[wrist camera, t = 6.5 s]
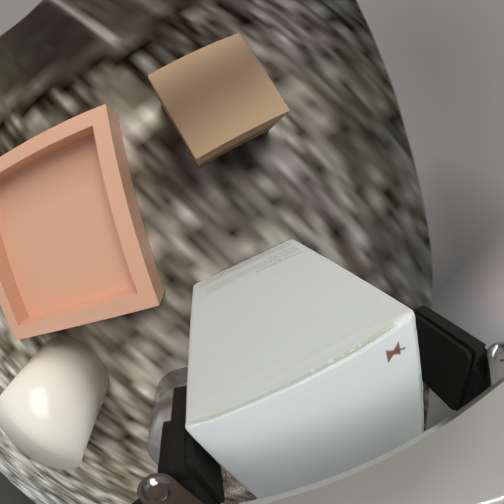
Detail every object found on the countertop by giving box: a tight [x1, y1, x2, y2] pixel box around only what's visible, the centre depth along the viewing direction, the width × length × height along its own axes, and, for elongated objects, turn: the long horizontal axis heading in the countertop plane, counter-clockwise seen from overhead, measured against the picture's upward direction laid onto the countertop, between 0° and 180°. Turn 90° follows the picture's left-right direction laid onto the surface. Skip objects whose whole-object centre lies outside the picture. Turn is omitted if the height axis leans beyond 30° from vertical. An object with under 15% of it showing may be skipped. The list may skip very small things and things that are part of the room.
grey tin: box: [147, 367, 227, 473], centre depth 18 cm, size 6×6×6 cm
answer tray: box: [0, 104, 165, 340], centre depth 15 cm, size 12×12×2 cm
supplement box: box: [185, 239, 424, 499], centre depth 14 cm, size 7×7×13 cm
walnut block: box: [148, 33, 290, 168], centre depth 15 cm, size 5×5×5 cm
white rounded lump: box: [0, 337, 109, 470], centre depth 15 cm, size 6×6×8 cm
